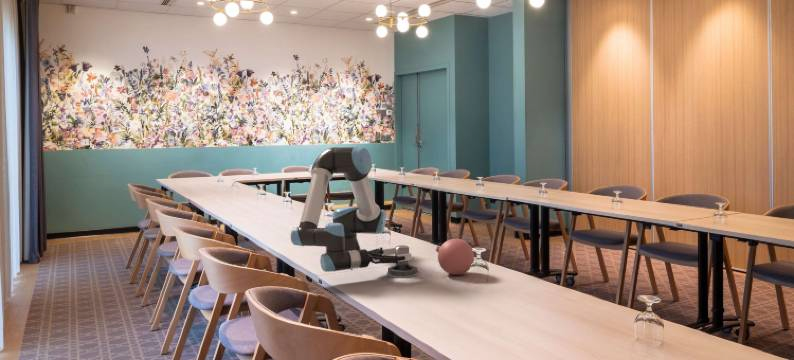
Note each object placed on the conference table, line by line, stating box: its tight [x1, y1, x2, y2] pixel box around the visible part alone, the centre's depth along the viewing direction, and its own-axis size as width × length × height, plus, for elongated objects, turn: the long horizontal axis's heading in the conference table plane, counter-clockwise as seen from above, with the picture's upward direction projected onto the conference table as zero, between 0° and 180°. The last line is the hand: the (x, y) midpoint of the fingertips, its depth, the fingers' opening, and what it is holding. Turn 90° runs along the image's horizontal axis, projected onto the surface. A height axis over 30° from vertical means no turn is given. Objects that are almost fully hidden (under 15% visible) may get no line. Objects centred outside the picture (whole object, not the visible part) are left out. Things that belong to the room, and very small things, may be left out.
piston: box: [394, 244, 410, 271], centre depth 266 cm, size 6×6×11 cm
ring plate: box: [386, 264, 420, 279], centre depth 266 cm, size 14×14×2 cm
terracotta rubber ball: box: [435, 238, 475, 276], centre depth 265 cm, size 15×20×15 cm
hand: (403, 253), depth 266 cm, fingers open, 13 cm apart
